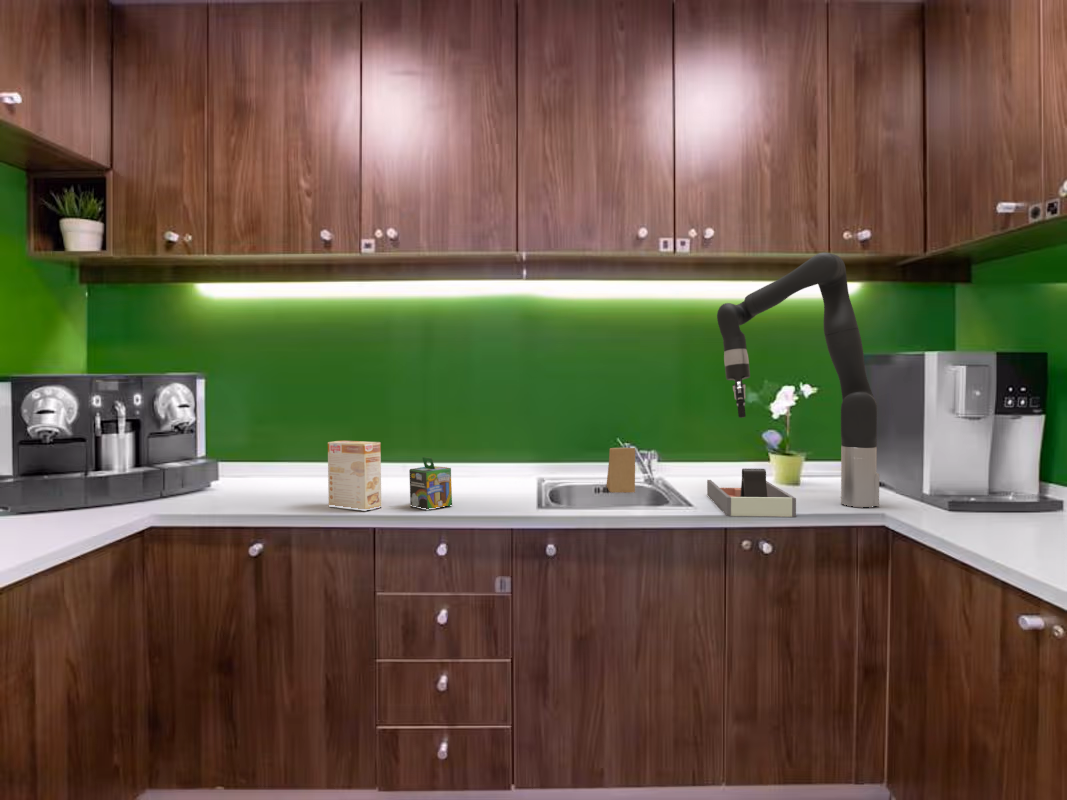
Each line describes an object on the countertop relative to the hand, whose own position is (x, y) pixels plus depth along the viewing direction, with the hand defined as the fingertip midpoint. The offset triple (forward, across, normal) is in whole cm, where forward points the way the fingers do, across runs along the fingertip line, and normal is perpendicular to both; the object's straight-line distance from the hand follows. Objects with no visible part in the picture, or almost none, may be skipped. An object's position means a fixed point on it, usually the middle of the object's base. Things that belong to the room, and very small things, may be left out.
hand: (742, 417), depth 208 cm
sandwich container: (+21, +3, +42) cm, 47 cm away
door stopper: (+28, -25, 0) cm, 38 cm away
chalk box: (+21, -45, +90) cm, 103 cm away
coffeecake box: (+20, -52, +111) cm, 124 cm away
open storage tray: (+27, -16, +1) cm, 31 cm away
